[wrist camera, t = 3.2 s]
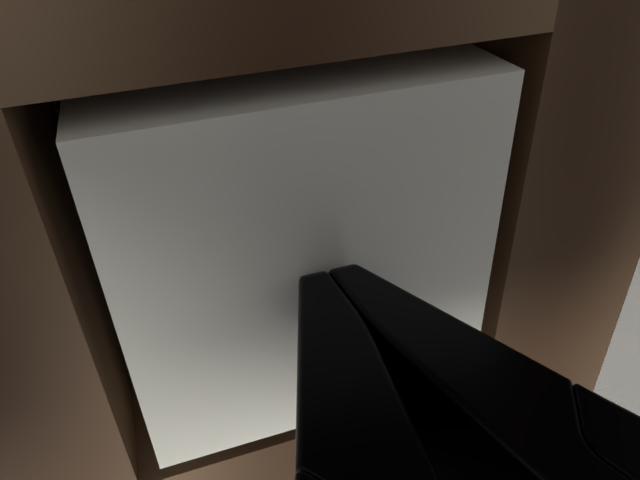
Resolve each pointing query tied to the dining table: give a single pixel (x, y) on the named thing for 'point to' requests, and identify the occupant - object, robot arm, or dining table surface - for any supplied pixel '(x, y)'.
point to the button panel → (275, 54)
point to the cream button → (281, 217)
